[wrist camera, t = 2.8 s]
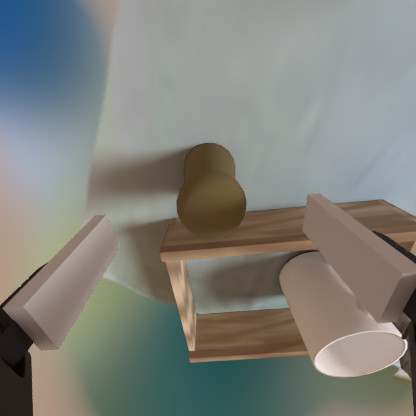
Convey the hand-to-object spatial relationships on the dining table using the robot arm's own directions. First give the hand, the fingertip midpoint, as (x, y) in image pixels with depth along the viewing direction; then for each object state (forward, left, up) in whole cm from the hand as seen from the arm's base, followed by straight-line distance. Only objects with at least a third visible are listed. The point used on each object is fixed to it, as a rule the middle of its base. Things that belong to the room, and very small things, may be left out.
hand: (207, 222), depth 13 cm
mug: (+17, +14, -12) cm, 25 cm away
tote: (+17, +8, -11) cm, 22 cm away
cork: (0, 0, -11) cm, 11 cm away
